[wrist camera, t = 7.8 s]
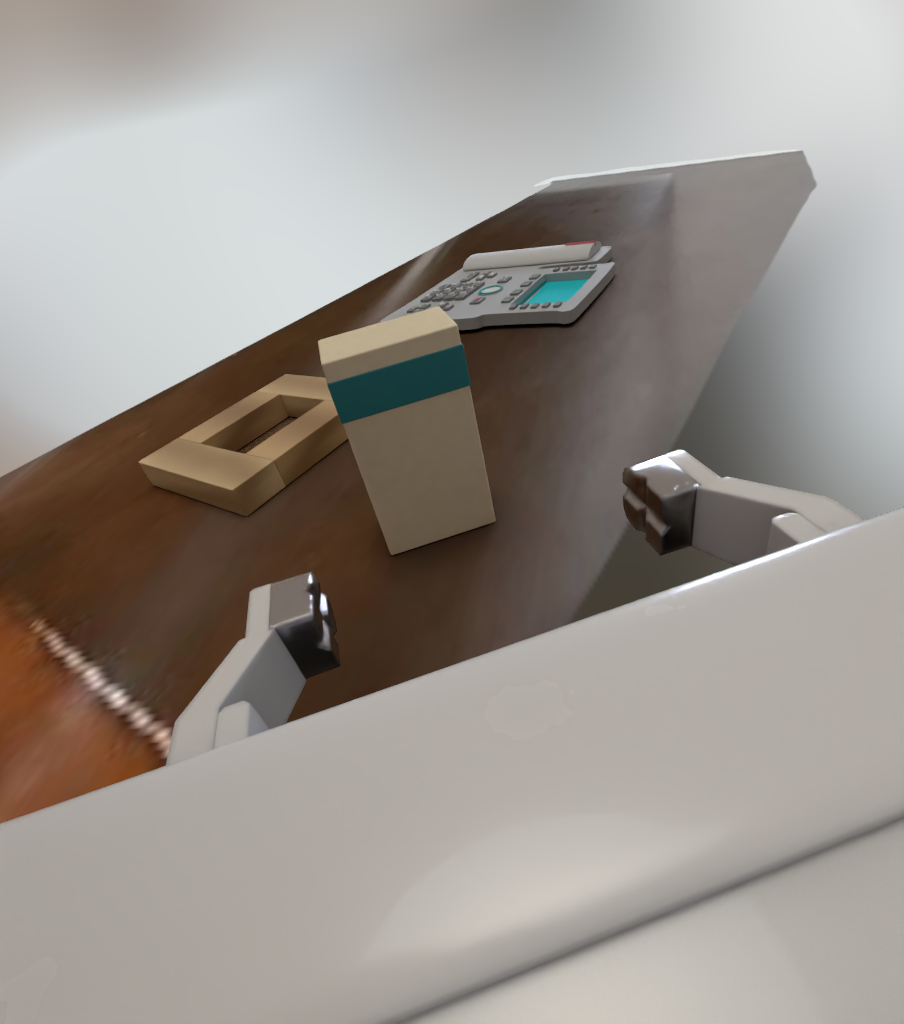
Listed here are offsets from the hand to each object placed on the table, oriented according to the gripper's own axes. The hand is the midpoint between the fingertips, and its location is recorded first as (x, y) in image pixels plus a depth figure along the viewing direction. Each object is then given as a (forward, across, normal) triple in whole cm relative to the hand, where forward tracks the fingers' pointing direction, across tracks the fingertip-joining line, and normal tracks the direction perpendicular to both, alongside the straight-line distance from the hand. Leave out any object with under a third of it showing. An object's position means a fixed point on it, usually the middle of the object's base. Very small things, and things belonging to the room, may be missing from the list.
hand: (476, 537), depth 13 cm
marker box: (+12, 0, +8) cm, 14 cm away
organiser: (+27, +9, +8) cm, 29 cm away
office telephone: (+47, -17, +8) cm, 50 cm away
